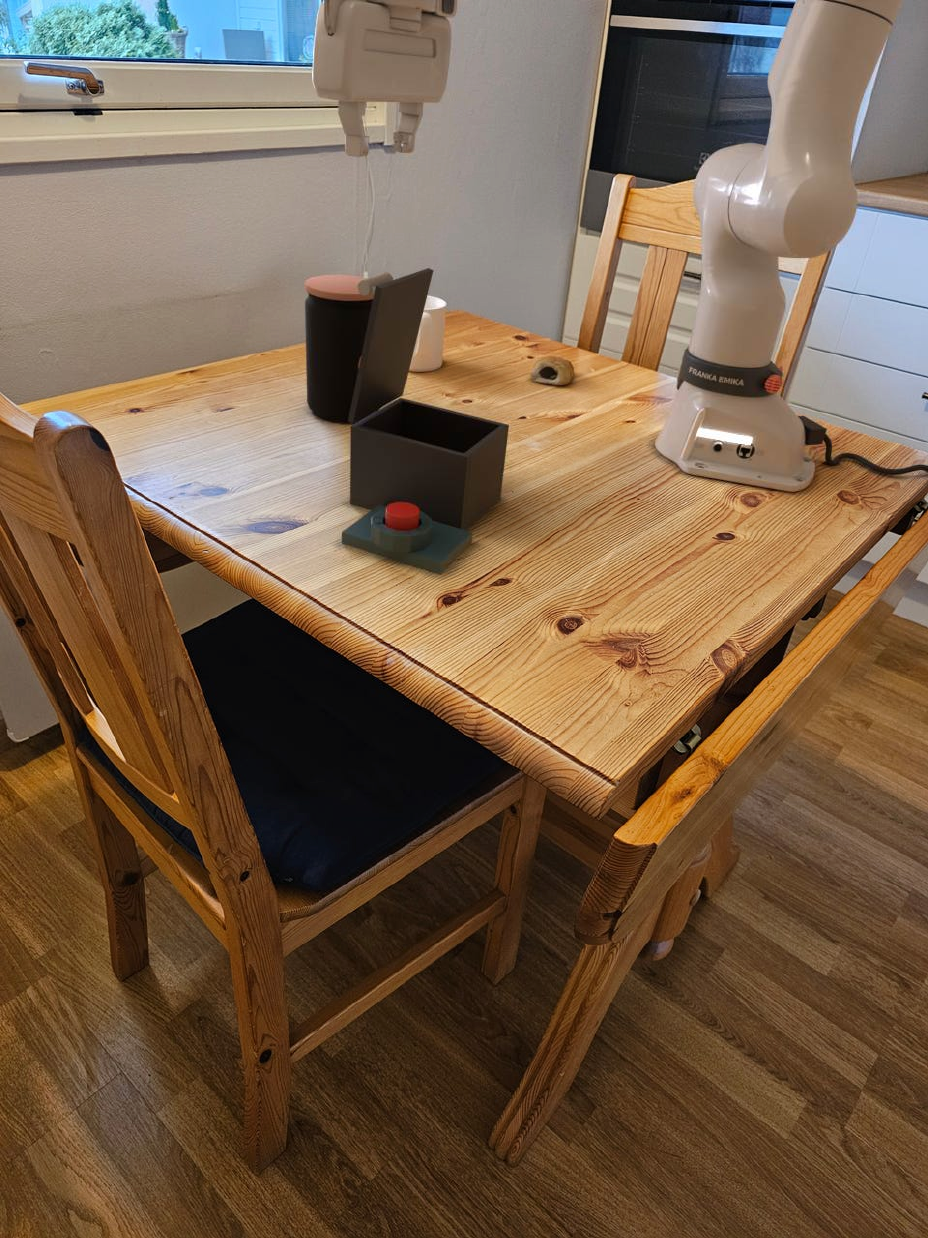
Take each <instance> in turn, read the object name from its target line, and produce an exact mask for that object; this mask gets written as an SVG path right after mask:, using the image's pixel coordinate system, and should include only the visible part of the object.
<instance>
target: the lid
mask: <svg viewBox="0 0 928 1238" xmlns="http://www.w3.org/2000/svg"><path fill="white" fill-rule="evenodd" d="M433 274H434V269H432V268H429V267H427V268H424V269H422V270H419V271H416V272H413V273H410V274H407V275H404V276H400V277H398V278H395V279H394V277H393V276H392V274H391V273H390V272H382V273H379V274H375V275H373V276H369V277H366V278H367V279H364V280H361V281H359V283H358V291H359V293H360V294H361V295H363V296H367V295H370V294H372V295H374V298H373V303H372V307H371V312H370V317H369V322H368V327H367V332H366V336H365V341H364V346H363V351H362V356H361V360H360V365H359V370H358V375H357V380H356V385H355V389H354V394H353V399H352V404H351V409H350V413H349V418H348V421H349V422H351V423H350V424H355V423H357V421H358V420H360V419H362V418H364V417H365V416H367V415H369V414H371V413H372V412H374V411H376V410H380V409H381V408H383V407H385V406H387V405H388V404H390V403H392V402H394V401H395V400H398V399H399V398H402V396H404V392H405V389H406V384H407V379H408V376H409V372H410V371H409V368H410V364H411V360H412V356H413V352H414V348H415V344H416V340H417V336H418V332H419V328H420V324H421V319H422V315H423V311H424V307H425V303H426V299H427V295H428V296H429V292H430V287H431V282H432V277H433Z"/></svg>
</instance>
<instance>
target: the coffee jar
mask: <svg viewBox="0 0 928 1238" xmlns="http://www.w3.org/2000/svg"><path fill="white" fill-rule="evenodd" d="M367 278H368V277H363V276H357V275H347V274H323V275H317V276H312V277H310V278H307V279H306V280H305V281H304V289H305V291H306V292H307V295H308V296H307V297H306V298H305V300H304V322H305V323H304V325H305V326H304V327H305V329H304V330H305V370H306V371H305V372H306V403H307V405H308V408H309V410H310V411H311V412H312V414H313V415H314V416H315V417H317V418H319V419H322V420H324V421H328V422H332V423H340V424H341V423H342V424H352V423H351V422H349V421H348V418H349V413H350V409H351V404H352V399H353V394H354V389H355V385H356V380H357V375H358V370H359V365H360V360H361V356H362V351H363V346H364V341H365V336H366V332H367V327H368V322H369V317H370V312H371V307H372V303H373V298H374V295H372V294H370V295H367V296H363V295H361V294H360V293H359V291H358V283H359V281H361V280H364V279H367ZM378 410H379V409H378ZM378 410H376V411H378ZM376 411H374V412H376ZM374 412H372V413H371V414H373V413H374ZM371 414H369V415H371ZM369 415H367V416H369ZM367 416H365V417H364V418H366V417H367ZM364 418H362V419H364ZM362 419H360V420H362ZM360 420H358V421H357V422H359V421H360ZM357 422H356V423H357Z"/></svg>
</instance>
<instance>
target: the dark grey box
mask: <svg viewBox="0 0 928 1238" xmlns="http://www.w3.org/2000/svg"><path fill="white" fill-rule="evenodd" d="M509 431H510V425H509V424H506V423H503V422H499V421H495V420H490V419H487V418H483V417H479V416H475V415H471V414H467V413H463V412H459V411H455V410H451V409H447V408H443V407H439V406H435V405H431V404H427V403H423V402H419V401H415V400H411V399H407V398H403V397H399V398H397V399H395V400H394V401H392V402H390V403H388V404H387V405H385V406H383V407H381V408H380V409H378V411H376V412H374V413H373V414H371V415H369V416H367V417H366V418H364V419H362V420H360V421H359V422H355V423H352V425H350V437H349V439H350V441H349V443H350V444H349V446H350V448H349V449H350V451H349V452H350V453H349V454H350V455H349V458H350V459H349V460H350V461H349V504H350V505H352V506H356V507H358V508H362V509H366V510H369V511H371V510H372V509H374V508H375V507H376V506H378V505H382V506H385V507H387V506H388V505H389V504H392V503H396V502H406V503H411V504H414V505H416V506H417V507H418V508H419V510H420V511H421V512H424V513H425V514H426V515H428V516H429V517H430V518H431V519H432V521H435V522H439V523H442V524H445V525H449V526H452V527H456V528H459V529H462V530H466V531H468V530H470V529H471V528H472V527H473V526H474V525H475V524H476V523H477V522H478V521H480V519H482V518H483V517H484V516H485V515H486V514H487V513H488V512H489V511H491V509H492V508H494V506H496V504H498V502H500V501H501V499H502V489H503V480H504V471H505V464H506V457H507V456H506V455H507V446H508V437H509Z"/></svg>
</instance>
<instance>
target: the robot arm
mask: <svg viewBox="0 0 928 1238" xmlns="http://www.w3.org/2000/svg"><path fill="white" fill-rule="evenodd" d="M903 2H904V0H796V1H795V2H794V5H793V8H792V10H791V12H790V15H789V18H788V21H787V23H786V26H785V28H784V32H783V33H782V37H781V39H780V41H779V45H778V48H777V50H776V53H775V55H774V58H773V61H772V63H771V66H770V69H769V71H768V75H767V89H768V94H769V96H770V101H771V115H770V122H769V123H770V124H769V130H768V135H767V139H766V143H765V144H761V143H757V142H756V143H755V142H745V143H739V144H735V145H731V146H726V147H723V148H720V149H718V150H716V151H715V152H713V153H712V154H711V155H710V156H708V158H707V159H706V160H705V161H704V162H703V164H702V165H701V167H700V168H699V170H698V172H697V174H696V177H695V180H694V183H693V189H692V190H693V192H692V198H693V204H694V208H695V210H696V213H697V216H698V220H699V224H700V235H701V236H700V237H701V240H700V241H701V276H700V277H701V279H700V291H699V296H698V302H697V306H696V310H695V311H696V312H695V316H694V321H693V326H692V331H691V335H690V339H689V343H688V346H687V347H686V348H685V349H684V353H683V355H682V356H681V360H680V365H679V369H678V373H677V378H676V393H675V397H674V399H673V402H672V405H671V407H670V410H669V412H668V415H667V418H666V420H665V422H664V424H663V426H662V429H661V430H660V432H659V434H658V436H657V437H656V438H655V441H654V446H655V448H656V450H657V451H658V452H659V453H660V454H661V455H662V456H663V457H665V458H666V459H668V460H670V461H671V462H673V463H675V464H676V465H677V466H678V467H679V469H680V470H681V471H683V472H684V473H686V474H689V475H692V476H698V477H704V478H711V479H716V480H720V481H721V480H722V481H727V482H732V483H738V484H743V485H750V486H755V487H761V488H767V489H773V490H778V491H784V492H791V493H795V492H799V491H802V490H805V489H806V488H808V487H809V486H810V485H811V484H812V482H813V480H814V475H815V472H816V465H815V464H816V463H815V462H814V460H813V459H812V457H810V455H809V454H807V453H805V449H806V446H819V445H820V446H821V445H823V443H824V445H825V452H824V459H825V463H826V464H827V465H828V466H830V467H834V466H837V465H838V464H839V463H840V462H841V461H842V460H845V459H848V460H852V461H856V462H858V463H860V464H861V465H863V466H864V467H866V468H867V469H870V470H871V471H874V472H876V473H879V474H882V475H887V476H901V475H906V474H910V473H913V472H920V471H924V472H926V473H927V474H928V464H921V463H920V464H914V465H910V466H905V467H901V468H888V467H887V468H886V467H883V466H880V465H877V464H875V463H873V462H872V461H871V460H868V459H867V458H866V457H863V456H862V455H859V454H857V453H854V452H853V453H852V452H841V453H840V454H838V455H836V456H835V457H834V458H833V457H832V454H833V443H832V440H831V438H830V437H829V435H828V434H827V430H828V429H827V428H826V427H825V426H823V425H821V424H819V423H817V422H816V421H814V420H812V419H810V418H809V417H808V416H805V415H797V413H795V411H794V410H793V409H792V408H791V407H790V405H788V403H787V402H786V401H785V400H784V398H783V397H782V396H781V395H780V394H779V392H778V391H780V388H782V386H783V382H784V381H783V375H784V372H783V371H784V369H783V366H782V365H780V366H779V367H778V366H777V365H776V363H775V362H773V361H772V357H773V354H774V350H775V347H776V343H777V339H778V336H779V333H780V329H781V326H782V322H783V319H784V316H785V312H786V305H787V301H786V300H787V299H786V294H785V291H784V289H783V286H782V283H781V278H780V269H779V268H780V267H779V266H780V265H779V258H784V259H812V258H813V259H814V258H819V257H821V256H823V255H825V254H827V253H829V252H830V251H832V250H833V249H835V248H836V247H837V246H838V245H839V244H840V243H841V242H842V240H843V239H844V238H845V237H846V235H847V234H848V233H849V231H850V229H851V228H852V227H851V226H852V224H853V223H854V220H855V217H856V213H857V208H858V192H857V186H856V183H855V182H854V179H853V174H852V152H853V151H852V150H853V143H854V136H855V130H856V125H857V120H858V116H859V113H860V109H861V106H862V102H863V99H864V96H865V94H866V91H867V90H868V87H869V84H870V83H871V80H872V76H873V74H874V72H875V69H876V66H877V65H878V61H879V60H880V58H881V55H882V53H883V51H884V48H885V45H886V42H887V40H888V38H889V36H890V33H891V31H892V29H893V27H894V24H895V21H896V19H897V16H898V14H899V12H900V9H901V7H902V4H903ZM457 10H458V0H322V1H321V4H320V5H319V7H318V11H317V16H316V23H315V31H314V40H313V41H314V42H313V56H312V59H313V60H312V75H311V76H312V84H313V87H314V90H315V93H316V95H317V96H318V97H319V98H321V99H328V100H332V101H338V104H337V105H338V108H337V111H338V112H337V113H338V114H337V115H338V116H339V120H340V123H341V126H342V130H343V132H344V137H345V138H344V139H345V140H344V152H345V154H346V155H347V156H348V157H353V158H365V157H367V156H368V154H369V149H370V148H369V145H370V135H366V132H365V127H364V120H363V119H364V118H363V116H366V111H367V109H366V107H367V103H368V102H369V103H398V113H400V118H399V122H398V126H397V131H393V138H392V139H393V143H392V149H393V151H394V152H396V153H401V154H411V153H413V152H414V151H415V145H416V143H415V142H416V134H417V132H418V129H419V127H420V123H421V121H422V119H423V114H424V103H425V104H426V103H429V104H438V103H440V102H441V100H442V99H443V96H444V94H445V91H446V88H447V85H448V84H447V83H448V77H449V75H448V74H449V68H450V59H451V49H452V26H451V22H450V21H449V19H452V18H455V17H456V15H457V12H458V11H457ZM448 18H449V19H448Z"/></svg>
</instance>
